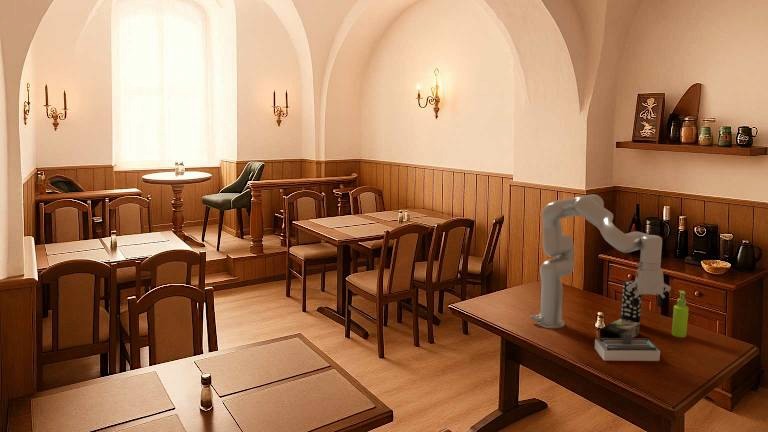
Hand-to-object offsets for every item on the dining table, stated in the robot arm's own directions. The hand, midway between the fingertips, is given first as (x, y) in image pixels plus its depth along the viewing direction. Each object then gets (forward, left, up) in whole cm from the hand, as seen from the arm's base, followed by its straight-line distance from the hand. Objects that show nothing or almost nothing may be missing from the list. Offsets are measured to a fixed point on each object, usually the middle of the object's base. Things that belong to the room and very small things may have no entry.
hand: (647, 306), depth 235 cm
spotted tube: (+7, +34, -21) cm, 40 cm away
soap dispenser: (+24, +22, -21) cm, 38 cm away
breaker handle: (-7, 0, -17) cm, 18 cm away
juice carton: (-3, +18, -21) cm, 28 cm away
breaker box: (-7, 0, -21) cm, 22 cm away
